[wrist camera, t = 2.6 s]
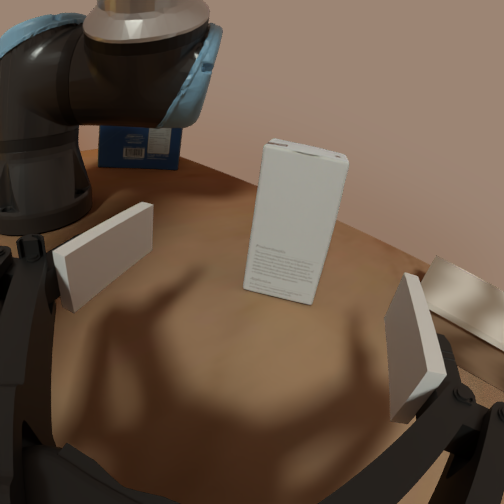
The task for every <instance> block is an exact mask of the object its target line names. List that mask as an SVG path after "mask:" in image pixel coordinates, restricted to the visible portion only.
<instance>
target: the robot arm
mask: <svg viewBox="0 0 504 504" xmlns="http://www.w3.org/2000/svg"><path fill="white" fill-rule="evenodd" d="M209 13H210V10H209V7H208V5H207V4H206V3H205V2H204V1H203V0H97V5H96V6H95V8H94V9H93V10H92V11H91V12H90V13H89V14H88V15H87V16H86V15H83V14H78V13H61V14H58V15H51V14H50V15H44V16H40V17H36V18H33V19H30V20H27V21H24V22H22V23H19V24H17V25H15V26H14V27H12V28H10V29H9V30H8V31H6V33H4V34H3V36H2V37H1V38H0V234H5V235H25V236H22V237H21V238H19V239H18V240H17V241H16V243H17V249H18V254H19V258H14V257H12V253H11V248H9V247H7V246H0V504H180V503H177V502H175V501H172V500H170V499H168V498H166V497H162V496H158V495H153V494H149V493H145V492H140V491H136V490H133V489H129V488H126V487H123V486H122V485H120V484H119V483H118V482H117V481H116V480H115V479H114V478H112V477H111V476H110V475H109V474H108V473H107V472H106V471H105V470H104V469H103V468H102V467H101V466H100V465H99V464H98V463H97V462H96V461H95V460H93V459H91V458H90V457H88V456H87V455H85V454H83V453H82V452H80V451H79V450H77V449H76V448H74V447H73V446H71V445H70V444H68V443H66V444H65V446H64V447H63V448H59V447H56V445H55V442H54V439H53V435H52V423H51V366H52V347H53V334H54V323H55V313H56V303H55V299H57V298H58V297H59V296H60V297H61V302H62V307H64V308H65V309H67V310H69V311H71V312H73V313H75V312H77V311H78V310H79V309H80V308H81V307H82V306H84V305H85V304H86V303H87V302H88V301H90V300H91V299H92V298H93V297H94V296H96V295H97V294H98V293H99V292H100V291H102V290H103V289H104V288H105V287H107V286H108V285H109V284H110V283H111V282H113V281H114V280H115V279H116V278H118V277H119V276H120V275H121V274H123V273H124V272H125V271H126V270H128V269H129V268H130V267H131V266H133V265H134V264H135V263H137V262H138V261H139V260H140V259H142V258H143V257H144V256H145V255H147V254H148V253H149V252H151V251H152V236H153V206H154V205H153V204H149V203H145V202H140V203H138V204H136V205H134V206H133V207H131V208H129V209H127V210H125V211H123V212H121V213H119V214H117V215H115V216H113V217H112V218H110V219H108V220H106V221H104V222H102V223H101V224H99V225H97V226H95V227H93V228H92V229H90V230H88V231H86V232H84V233H81V234H78V235H76V236H74V237H73V238H71V239H70V240H67V241H66V242H64V244H63V243H62V244H61V245H59V246H57V247H55V248H54V249H52V250H50V251H49V252H47V253H46V251H45V244H44V237H43V236H42V235H40V234H36V233H41V232H46V231H50V230H54V229H57V228H60V227H63V226H65V225H68V224H70V223H72V222H74V221H76V220H78V219H80V218H81V217H83V216H84V215H85V214H86V213H87V212H88V211H89V210H90V208H91V206H92V189H91V184H90V181H89V178H88V175H87V172H86V169H85V166H84V163H83V160H82V156H81V153H80V150H79V146H78V133H79V125H99V126H125V127H142V128H154V129H161V128H186V127H188V126H191V125H192V124H194V123H195V122H196V121H197V119H198V117H199V115H200V112H201V109H202V106H203V103H204V99H205V96H206V93H207V89H208V85H209V82H210V78H211V74H212V69H213V67H214V63H215V60H216V57H217V53H218V50H219V46H220V42H221V37H222V33H223V30H222V28H221V27H220V26H217V25H215V24H213V23H209V24H208V21H209ZM384 320H385V331H386V342H387V355H388V371H389V393H390V421H391V422H397V423H404V424H408V423H409V422H410V421H411V420H412V419H413V418H414V416H415V415H416V421H415V422H414V423H413V424H412V425H411V426H410V427H409V428H408V429H407V430H406V431H405V432H404V433H403V434H402V435H401V436H400V437H399V438H398V439H397V440H396V441H395V442H394V443H393V444H392V445H391V446H390V447H389V448H387V449H386V450H385V451H384V452H383V453H382V454H381V455H380V456H378V457H377V458H376V459H375V460H374V461H373V462H372V463H370V464H369V465H368V466H367V467H366V468H364V469H363V470H362V471H361V472H359V473H358V474H357V475H356V476H354V477H353V478H352V479H351V480H349V481H348V482H347V483H346V484H344V485H343V486H342V487H340V488H339V489H338V490H336V491H335V492H333V493H332V494H331V495H329V496H328V497H326V498H325V499H324V500H322V501H321V502H319V503H318V504H397V503H398V502H399V501H400V500H401V499H402V498H403V497H404V496H405V495H406V494H407V493H408V492H409V490H410V489H411V488H412V487H413V486H414V485H415V484H416V483H417V482H418V481H419V479H420V478H421V477H422V476H423V475H424V474H425V473H426V471H427V470H428V469H429V468H430V467H431V465H432V464H433V463H434V462H435V461H436V459H437V458H438V457H439V456H440V454H441V453H442V452H443V450H445V451H447V452H450V455H449V458H448V460H447V463H446V465H445V468H444V470H443V472H442V475H441V477H440V479H439V481H438V484H437V486H436V488H435V490H434V492H433V494H432V497H431V499H430V501H429V503H428V504H500V503H501V500H502V496H503V492H504V402H496V403H495V404H493V406H492V407H491V408H490V409H488V408H486V407H483V406H481V405H479V404H477V403H476V400H475V396H474V394H473V392H472V390H471V389H470V388H469V387H468V386H466V385H464V384H463V383H461V380H460V376H459V372H458V368H457V365H456V361H455V358H454V354H453V351H452V347H451V344H450V343H449V341H448V340H447V338H446V337H445V336H444V335H442V334H438V333H436V331H435V328H434V324H433V321H432V317H431V314H430V311H429V308H428V305H427V301H426V298H425V295H424V292H423V289H422V286H421V283H420V281H419V278H418V276H415V275H412V274H409V273H405V272H404V274H403V276H402V279H401V281H400V284H399V286H398V288H397V291H396V293H395V295H394V297H393V300H392V302H391V304H390V306H389V308H388V311H387V313H386V315H385V317H384Z"/></svg>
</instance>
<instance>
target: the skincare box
mask: <svg viewBox="0 0 504 504" xmlns="http://www.w3.org/2000/svg"><path fill="white" fill-rule="evenodd" d="M348 169H349V162H348V159H347V157H346V156H345V154H341V153H338V152H334V151H330V150H326V149H322V148H317V147H313V146H309V145H304V144H299V143H295V142H289V141H285V140H280V139H275V138H274V139H272V140H271V141H270V142H268V143H267V144H265V145H264V147H263V154H262V162H261V169H260V176H259V182H258V189H257V195H256V202H255V209H254V216H253V223H252V229H251V236H250V243H249V250H248V256H247V263H246V270H245V276H244V282H243V288H244V289H246V290H250V291H253V292H258V293H262V294H266V295H270V296H274V297H278V298H282V299H286V300H291V301H295V302H299V303H303V304H308V305H312V303H313V299H314V296H315V293H316V289H317V286H318V283H319V279H320V276H321V273H322V269H323V266H324V262H325V259H326V255H327V252H328V248H329V244H330V241H331V237H332V233H333V230H334V226H335V222H336V218H337V214H338V210H339V206H340V202H341V197H342V193H343V188H344V183H345V180H346V176H347V172H348Z"/></svg>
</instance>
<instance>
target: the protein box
mask: <svg viewBox="0 0 504 504" xmlns="http://www.w3.org/2000/svg"><path fill="white" fill-rule="evenodd" d="M182 130H183V128H161V129H154V128H142V127H125V126H99V143H98V167H113V168H143V169H165V170H178V164H179V156H180V147H181V138H182Z"/></svg>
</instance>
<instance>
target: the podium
mask: <svg viewBox="0 0 504 504" xmlns="http://www.w3.org/2000/svg"><path fill="white" fill-rule="evenodd" d="M421 286H422V289H423V292H424V295H425V298H426V301H427V305H428V308H429V311H430V314H431V317H432V321H433V324H434V328H435V331H436V333H438V334H442V335H444V336H445V337H446V338H447V340H448V341H449V343H450V344H451V347H452V351H453V354H454V358H455V361H456V365H457V366H459V367H461V368H463V369H464V370H466V371H468V372H470V373H472V374H473V375H475V376H477V377H479V378H480V379H482V380H484V381H486V382H487V383H489V384H491V385H493V386H495V387H496V388H498V389H500V390H502V391H503V392H504V291H502V290H500V289H499V288H497V287H495V286H493V285H491V284H490V283H488V282H486V281H484V280H482V279H480V278H479V277H477V276H475V275H473V274H471V273H469V272H467V271H466V270H464V269H462V268H460V267H458V266H456V265H454V264H452V263H450V262H448V261H446V260H444V259H443V258H440V257H439V256H437V255H436V257H435V259H434V260H433V262H432V264H431V266H430V267H429V269H428V271H427V273H426V274H425V276H424V278H423V280H422V281H421Z"/></svg>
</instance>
